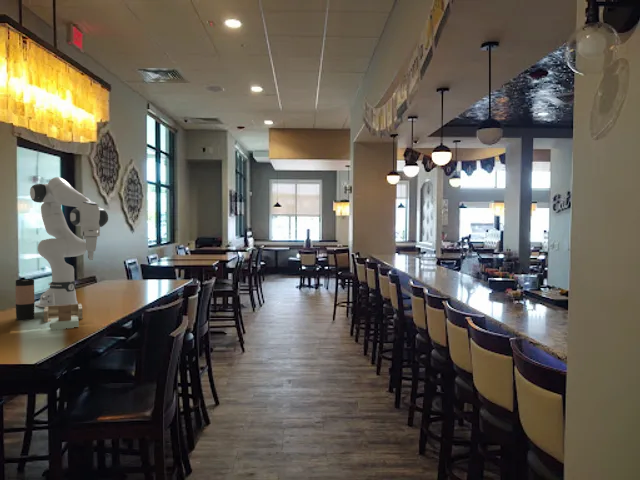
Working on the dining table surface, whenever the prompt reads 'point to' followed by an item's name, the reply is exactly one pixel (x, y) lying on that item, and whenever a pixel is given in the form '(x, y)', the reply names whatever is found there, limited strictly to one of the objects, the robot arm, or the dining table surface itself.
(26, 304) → the travel mug
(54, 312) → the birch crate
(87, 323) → the dining table surface
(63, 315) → the walnut block
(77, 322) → the sage stand
